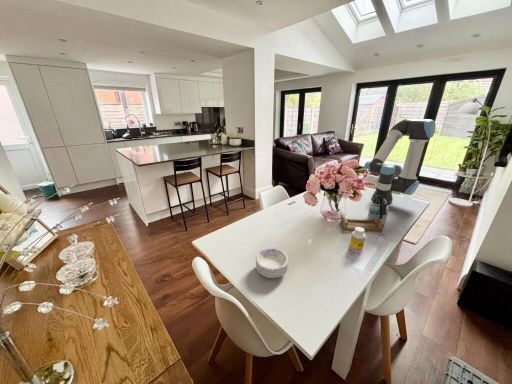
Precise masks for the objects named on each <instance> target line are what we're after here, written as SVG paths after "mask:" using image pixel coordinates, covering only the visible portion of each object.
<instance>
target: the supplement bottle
mask: <svg viewBox="0 0 512 384" xmlns="http://www.w3.org/2000/svg"><path fill="white" fill-rule="evenodd" d="M364 231H365V230H364V229H363V228H361V227H355V231H351V232H352V233H351V236H350V239H349V241H350V242H349V250H350V251H352V252H354V253H362V252H363V249H364V244H365V240H366V234H365V232H364Z"/></svg>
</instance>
